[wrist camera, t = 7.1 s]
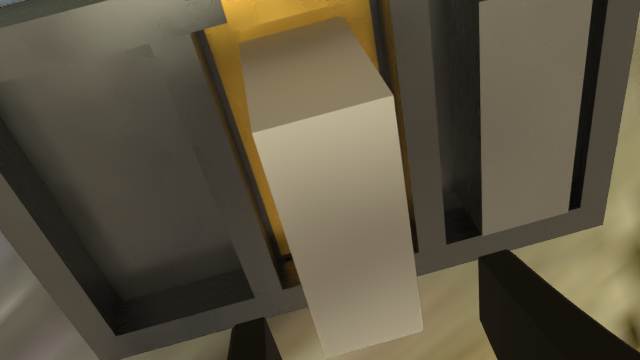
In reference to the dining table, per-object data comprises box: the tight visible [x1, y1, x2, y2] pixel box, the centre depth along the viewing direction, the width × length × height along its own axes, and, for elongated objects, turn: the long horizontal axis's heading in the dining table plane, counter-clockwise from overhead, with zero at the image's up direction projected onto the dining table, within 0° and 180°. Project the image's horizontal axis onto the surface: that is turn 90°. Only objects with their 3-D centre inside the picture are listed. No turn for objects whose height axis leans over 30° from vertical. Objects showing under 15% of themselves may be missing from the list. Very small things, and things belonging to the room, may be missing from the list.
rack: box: [0, 0, 640, 360], centre depth 16 cm, size 12×19×3 cm, turn 101°
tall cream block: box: [238, 16, 424, 359], centre depth 15 cm, size 8×3×5 cm, turn 11°
